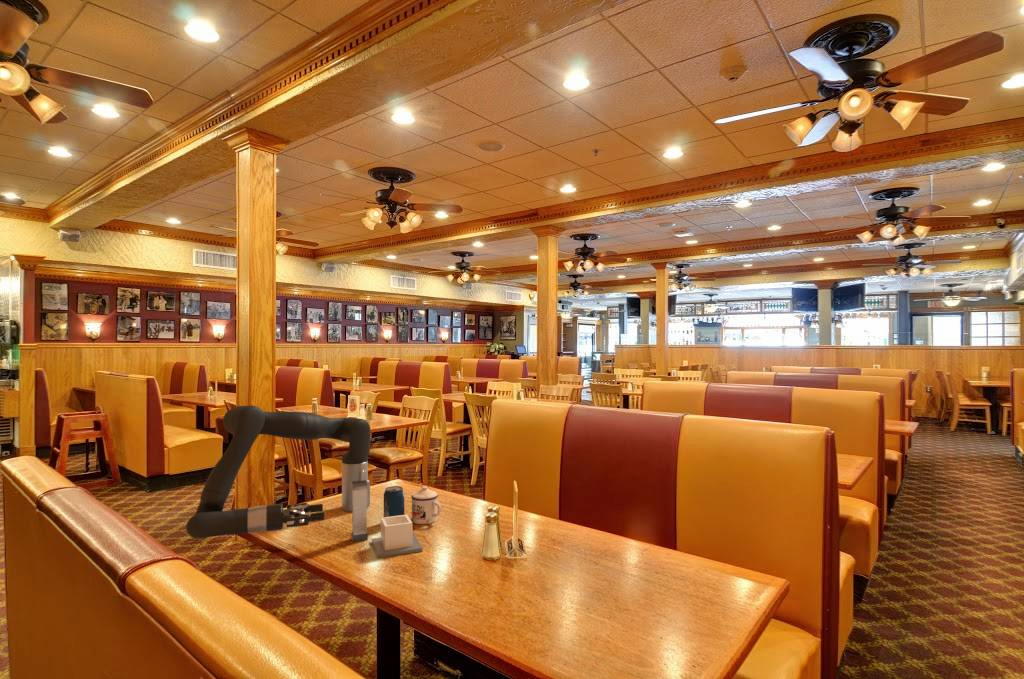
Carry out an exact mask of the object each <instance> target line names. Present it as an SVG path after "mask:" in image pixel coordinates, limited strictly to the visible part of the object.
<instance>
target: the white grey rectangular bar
mask: <svg viewBox="0 0 1024 679" xmlns="http://www.w3.org/2000/svg"><path fill="white" fill-rule="evenodd" d="M367 508H368V507H367V481H366V480H363V481H353V482H352V511H351V514H352V519H351V520H352V524H351V526H352V529H351V530H352V532H351V540H352V543H354V542H361V541H362V540H363V541H367V540H368V537H369V535H368V534H369V533H368V530H367V528H368V527H367V526H368V523H367V522H368V520H367V519H368V518H367V516H368V515H367V514H368V513H367V511H368V509H367Z"/></svg>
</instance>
